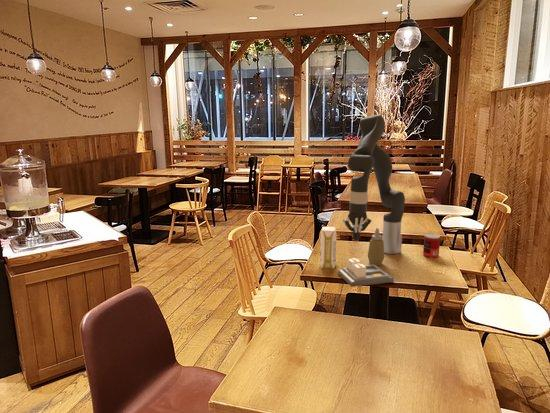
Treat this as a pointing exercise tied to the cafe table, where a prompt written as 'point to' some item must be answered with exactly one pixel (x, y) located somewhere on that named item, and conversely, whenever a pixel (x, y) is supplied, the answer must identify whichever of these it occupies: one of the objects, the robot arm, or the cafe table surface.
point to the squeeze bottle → (376, 249)
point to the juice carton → (328, 247)
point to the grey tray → (372, 276)
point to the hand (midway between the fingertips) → (356, 240)
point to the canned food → (431, 245)
